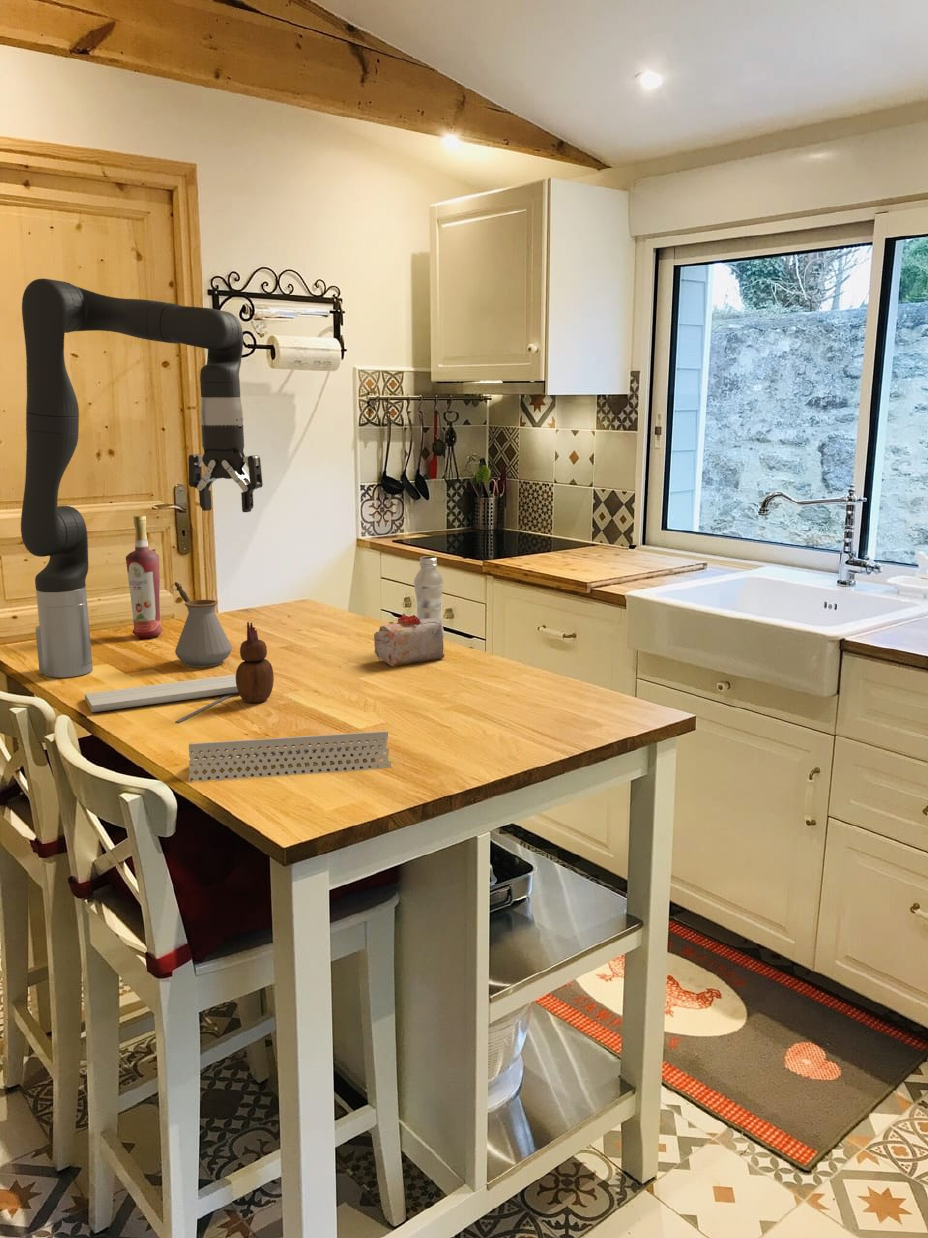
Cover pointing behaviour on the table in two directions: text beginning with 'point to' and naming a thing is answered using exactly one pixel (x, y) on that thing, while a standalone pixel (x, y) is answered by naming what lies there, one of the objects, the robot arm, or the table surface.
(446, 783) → the table surface
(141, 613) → the liquor
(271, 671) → the wooden figurine
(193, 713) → the thin grey rod
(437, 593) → the plastic bottle
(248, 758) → the corner bead
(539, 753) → the table surface
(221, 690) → the baseboard molding
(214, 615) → the coffee pot
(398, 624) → the food item
